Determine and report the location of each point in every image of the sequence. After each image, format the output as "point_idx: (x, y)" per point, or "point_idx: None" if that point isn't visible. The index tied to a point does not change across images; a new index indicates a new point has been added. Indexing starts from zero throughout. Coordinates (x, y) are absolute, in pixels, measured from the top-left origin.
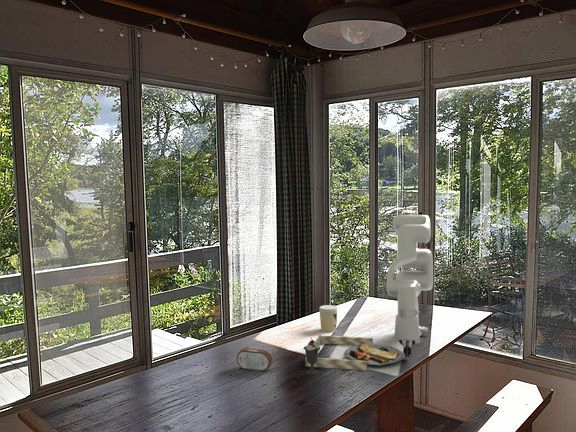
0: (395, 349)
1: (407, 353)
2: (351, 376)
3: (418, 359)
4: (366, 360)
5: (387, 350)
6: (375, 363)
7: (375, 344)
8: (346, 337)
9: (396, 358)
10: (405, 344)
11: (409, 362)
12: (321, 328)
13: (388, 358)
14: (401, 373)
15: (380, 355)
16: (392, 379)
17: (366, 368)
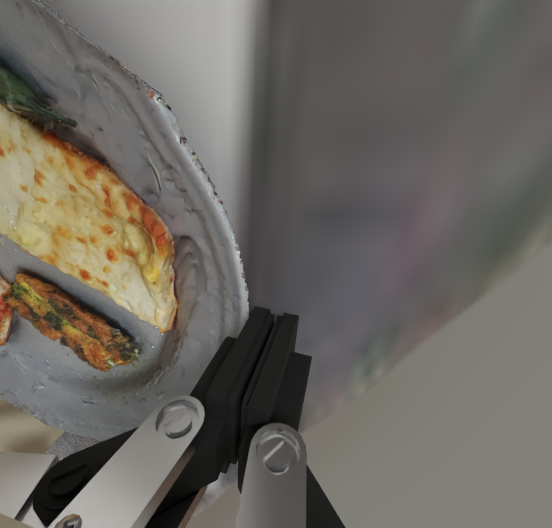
0: (129, 101)
1: (275, 326)
2: (46, 452)
3: (403, 316)
4: (12, 332)
5: (53, 116)
6: (77, 358)
7: None
8: None
9: (187, 301)
10: (189, 516)
11: None
12: None
13: (126, 308)
14: (233, 483)
15: (50, 261)
16: (197, 511)
17: (62, 432)
